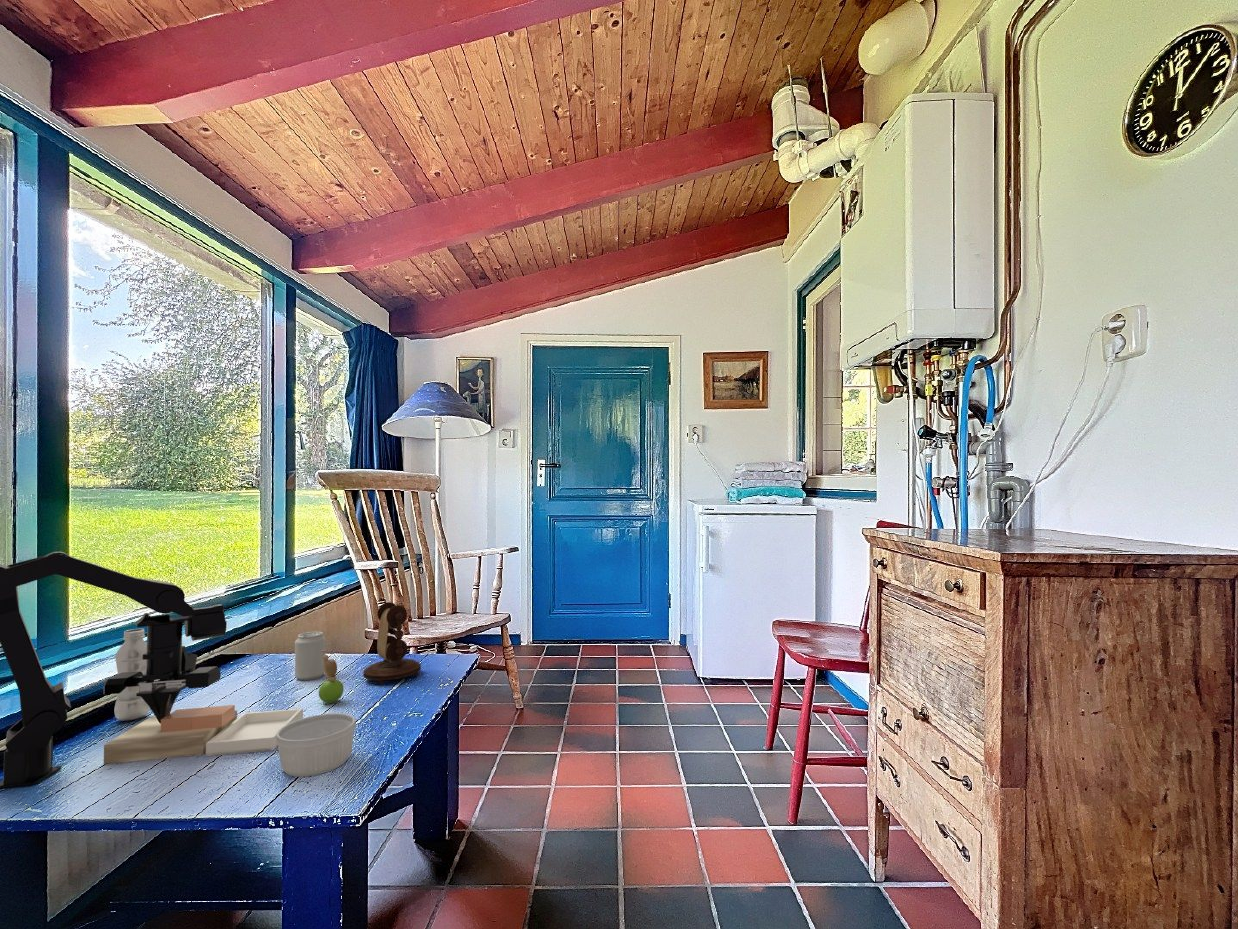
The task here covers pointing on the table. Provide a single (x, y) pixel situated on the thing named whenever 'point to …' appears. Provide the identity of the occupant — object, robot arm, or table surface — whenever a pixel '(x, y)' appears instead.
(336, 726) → the ramekin
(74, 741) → the table surface
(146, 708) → the plastic bottle
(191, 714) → the tile
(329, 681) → the green maraca
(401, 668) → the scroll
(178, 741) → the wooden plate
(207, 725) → the tile
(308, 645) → the can
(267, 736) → the tray
